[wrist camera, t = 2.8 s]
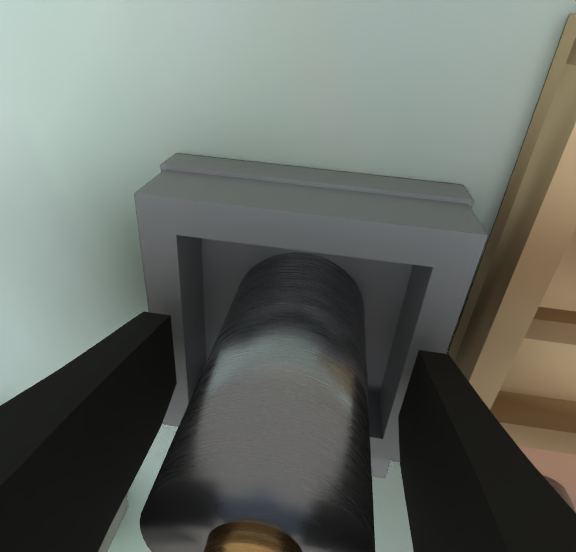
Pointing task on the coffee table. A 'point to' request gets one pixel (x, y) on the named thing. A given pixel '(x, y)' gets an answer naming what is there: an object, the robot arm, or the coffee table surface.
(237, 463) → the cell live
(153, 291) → the cradle
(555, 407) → the tray
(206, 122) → the coffee table surface
